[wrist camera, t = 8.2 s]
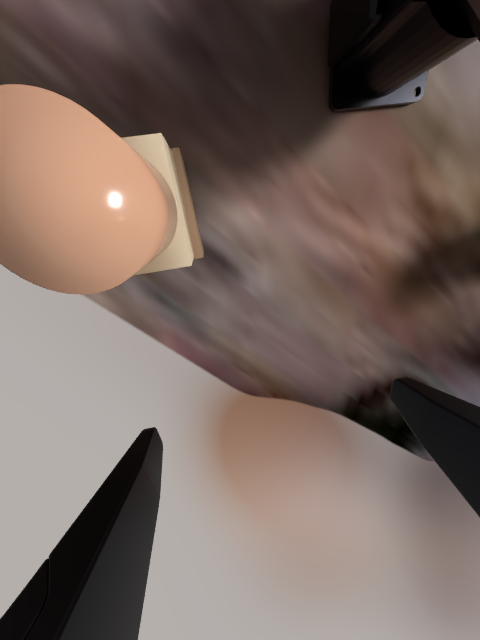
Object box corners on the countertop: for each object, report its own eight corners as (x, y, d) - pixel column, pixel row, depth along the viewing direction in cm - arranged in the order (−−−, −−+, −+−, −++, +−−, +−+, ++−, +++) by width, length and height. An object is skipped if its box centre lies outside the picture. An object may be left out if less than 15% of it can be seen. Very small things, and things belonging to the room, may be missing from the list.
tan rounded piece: (164, 143, 9) (119, 76, 5) (186, 256, 11) (169, 283, 7) (49, 153, 9) (-113, 92, 5) (92, 267, 11) (10, 303, 6)
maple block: (172, 153, 12) (161, 133, 9) (194, 254, 15) (191, 265, 12) (69, 166, 12) (21, 149, 9) (109, 267, 14) (83, 283, 11)
